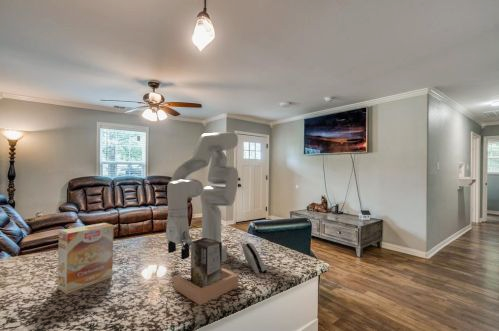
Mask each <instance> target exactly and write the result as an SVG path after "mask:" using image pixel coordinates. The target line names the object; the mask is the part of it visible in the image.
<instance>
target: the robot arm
mask: <svg viewBox="0 0 499 331" xmlns="http://www.w3.org/2000/svg"><path fill="white" fill-rule="evenodd" d="M238 137H239V136H238V135H237V134H236V132H234V131H223V132H221V131H219V132H212V133H211V132H209V133H203V134H202V135H200V136H199V138H198V139H197V143H196V145H195V148H194V149H193V152H192V154H191V156H190V158H188V159H187V160H185V161H184V162H183V163H181V165H179V166H178V167H177V168H176V169H175V170H174V172H173V174H172V176H171V179H170V181H169V182H168V183H167V186H166V187H167V219H166V230H165V234H166V236H165V237H166V238H165V239H166V240H167V252H168V254H171V253H175V252H177V245H179V244H180V246H181V249H180V251H181V252H180V255H181V256H180V257H181V259H180V260H182V261H183V260H186V259H189V258H190V249H191V242H192V241H193V238H192V237H191V235H190V226H189V225H190V224H189V218H188V216H189V214H188V211H189V210H188V208H189V207H188V205H189V204H188V198H197V197H199V196H200V203H201V209H202V210H201V213H202V214H201V238H200V239H202V238H208V239H212V240H215V241H219V242H222V212H221V209H220V207H230V206H232V205H234V203H235V200H236V195H237V188H238V181H239V172H238V171H239V170H238V169H237V168H236V167H234V166H231V165H230V166H229V165H228V166H227V162H228V157H227V155H226V153H225V151H229V150H232V149H235V148H236V147H237V146H238V143H239V138H238ZM208 166H209V168H208V172H207V181H208V183H209V184H210V185H209V186H208V185H207V186H203V182H202V181H200V180H198V179H195V178H187V177H188V176H190V175H191V174H193V173H195V172H198V171H200V170H203V169H205V168H206V167H208ZM211 184H212V185H211ZM220 185H221V186H220ZM224 185H225V186H224ZM219 206H220V207H219ZM222 246H224V245H223V244H222Z"/></svg>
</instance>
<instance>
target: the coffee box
mask: <svg viewBox="0 0 499 331" xmlns="http://www.w3.org/2000/svg"><path fill="white" fill-rule="evenodd" d="M201 238H202V237H201ZM201 238H200V239H196V240H192V241H191V245H190V282H191V283H193V284H195V285H196V286H198V287H200V288H203V287H205V286H208V285H210V284H212V283H215V282H217V281H219V280H221V279H222V268H223V267H222V266H223V265H222V263H223V262H222V245H223V242H222V241H221V242H219V241H215V240H212V239H208V238H202V239H201Z"/></svg>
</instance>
